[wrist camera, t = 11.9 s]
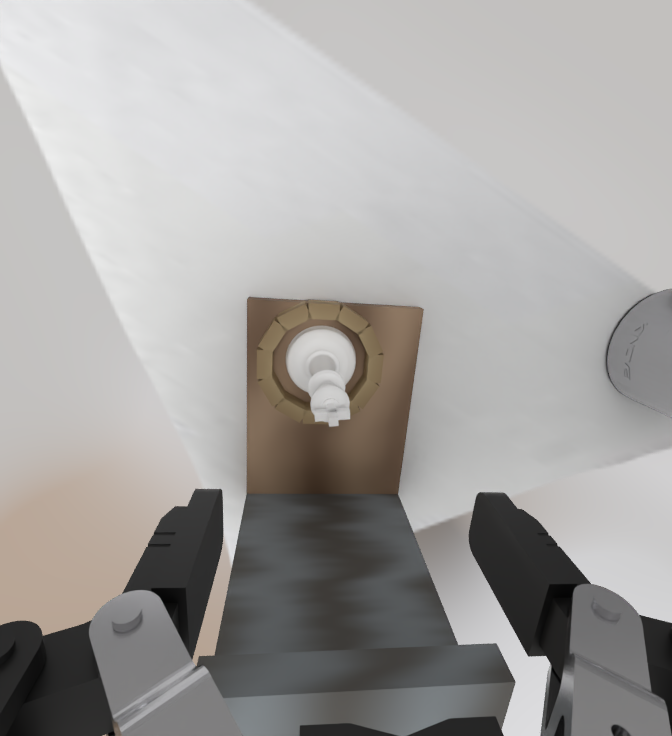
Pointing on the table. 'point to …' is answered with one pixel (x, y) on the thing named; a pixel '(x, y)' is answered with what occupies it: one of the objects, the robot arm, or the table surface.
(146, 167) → the table surface
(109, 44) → the table surface
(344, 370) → the chess piece
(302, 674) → the base
